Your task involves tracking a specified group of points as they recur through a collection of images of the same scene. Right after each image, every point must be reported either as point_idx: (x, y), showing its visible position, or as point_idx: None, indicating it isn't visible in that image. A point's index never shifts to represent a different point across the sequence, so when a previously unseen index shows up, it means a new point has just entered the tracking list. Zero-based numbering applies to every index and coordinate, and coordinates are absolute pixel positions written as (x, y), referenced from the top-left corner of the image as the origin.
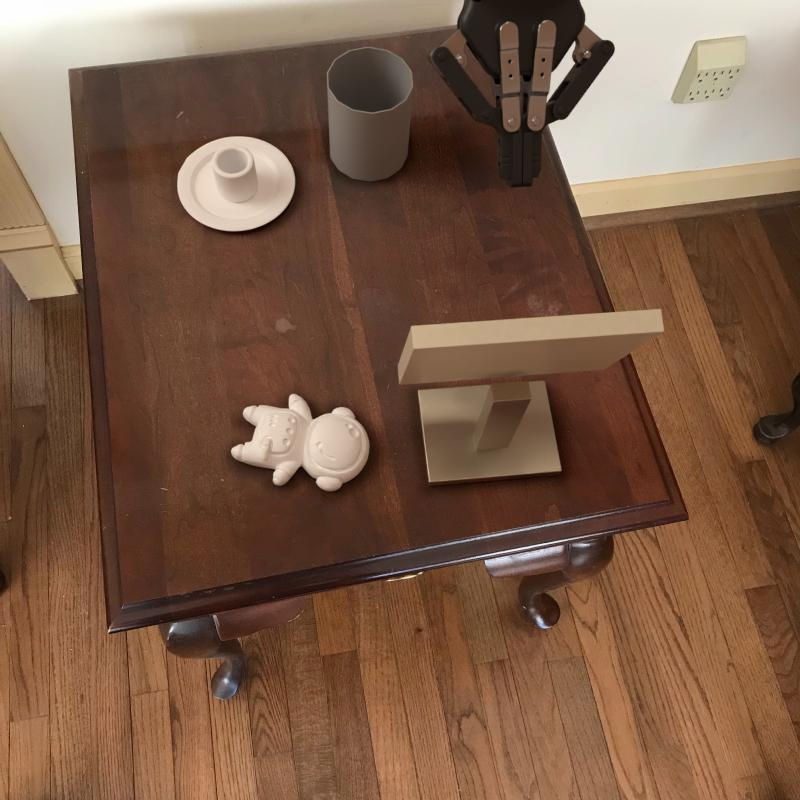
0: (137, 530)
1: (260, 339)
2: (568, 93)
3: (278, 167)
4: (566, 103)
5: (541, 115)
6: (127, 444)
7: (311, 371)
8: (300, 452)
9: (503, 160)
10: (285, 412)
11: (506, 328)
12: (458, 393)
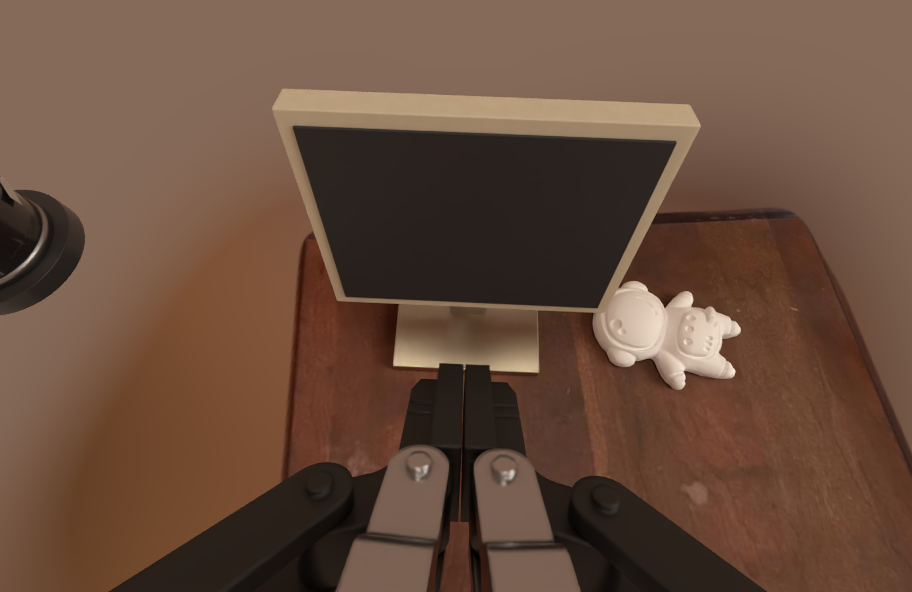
0: (809, 274)
1: (724, 475)
2: (270, 539)
3: None
4: (293, 506)
5: (397, 480)
6: (846, 359)
7: (657, 421)
8: (669, 314)
9: (513, 411)
10: (692, 357)
11: (539, 109)
12: (493, 362)
